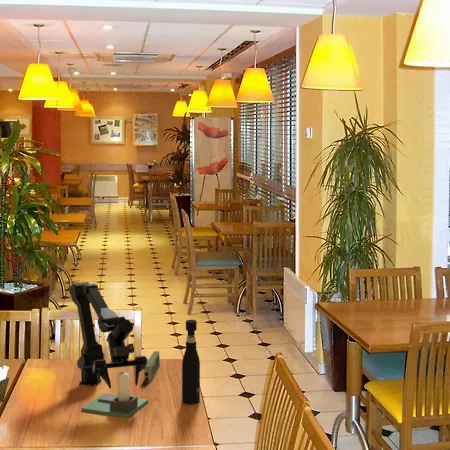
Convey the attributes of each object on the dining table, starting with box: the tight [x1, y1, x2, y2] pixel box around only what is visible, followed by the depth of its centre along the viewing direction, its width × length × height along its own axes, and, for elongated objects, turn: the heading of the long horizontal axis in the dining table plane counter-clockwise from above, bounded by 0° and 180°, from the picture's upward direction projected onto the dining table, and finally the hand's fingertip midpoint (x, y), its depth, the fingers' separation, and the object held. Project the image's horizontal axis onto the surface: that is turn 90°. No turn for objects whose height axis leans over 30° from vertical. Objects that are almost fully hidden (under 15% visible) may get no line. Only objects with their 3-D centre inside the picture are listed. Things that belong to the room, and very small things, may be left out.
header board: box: [80, 392, 149, 419], centre depth 271 cm, size 18×16×4 cm
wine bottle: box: [181, 319, 201, 406], centre depth 275 cm, size 6×6×30 cm
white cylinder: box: [117, 371, 130, 403], centre depth 266 cm, size 4×4×12 cm
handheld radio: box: [142, 350, 161, 386], centre depth 304 cm, size 7×3×25 cm
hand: (123, 386), depth 266 cm, fingers open, 9 cm apart
